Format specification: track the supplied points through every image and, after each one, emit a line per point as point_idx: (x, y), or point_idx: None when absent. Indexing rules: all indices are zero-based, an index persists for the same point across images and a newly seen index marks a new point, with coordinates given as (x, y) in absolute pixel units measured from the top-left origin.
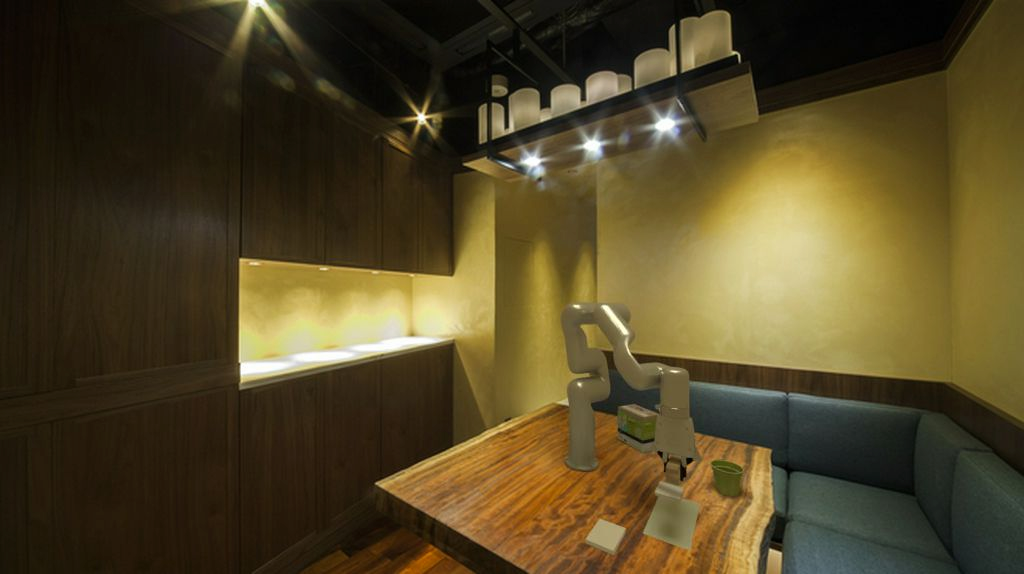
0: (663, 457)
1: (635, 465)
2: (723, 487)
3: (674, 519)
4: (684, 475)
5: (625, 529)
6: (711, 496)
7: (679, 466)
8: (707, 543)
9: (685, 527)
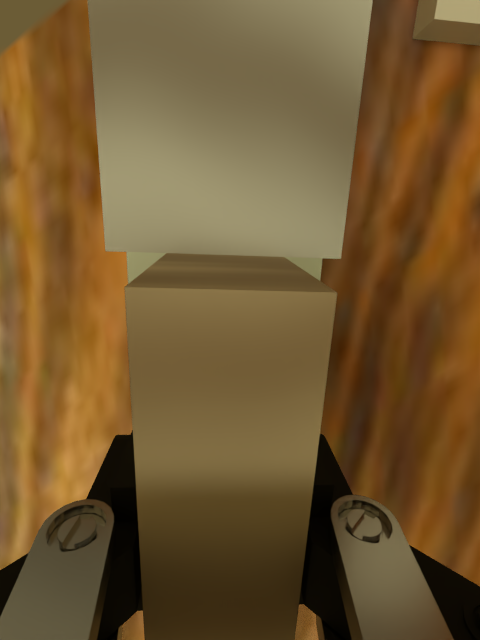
0: (398, 557)
1: None
2: None
3: None
4: (124, 441)
5: (434, 10)
6: None
7: (137, 456)
8: (69, 208)
9: (164, 253)
